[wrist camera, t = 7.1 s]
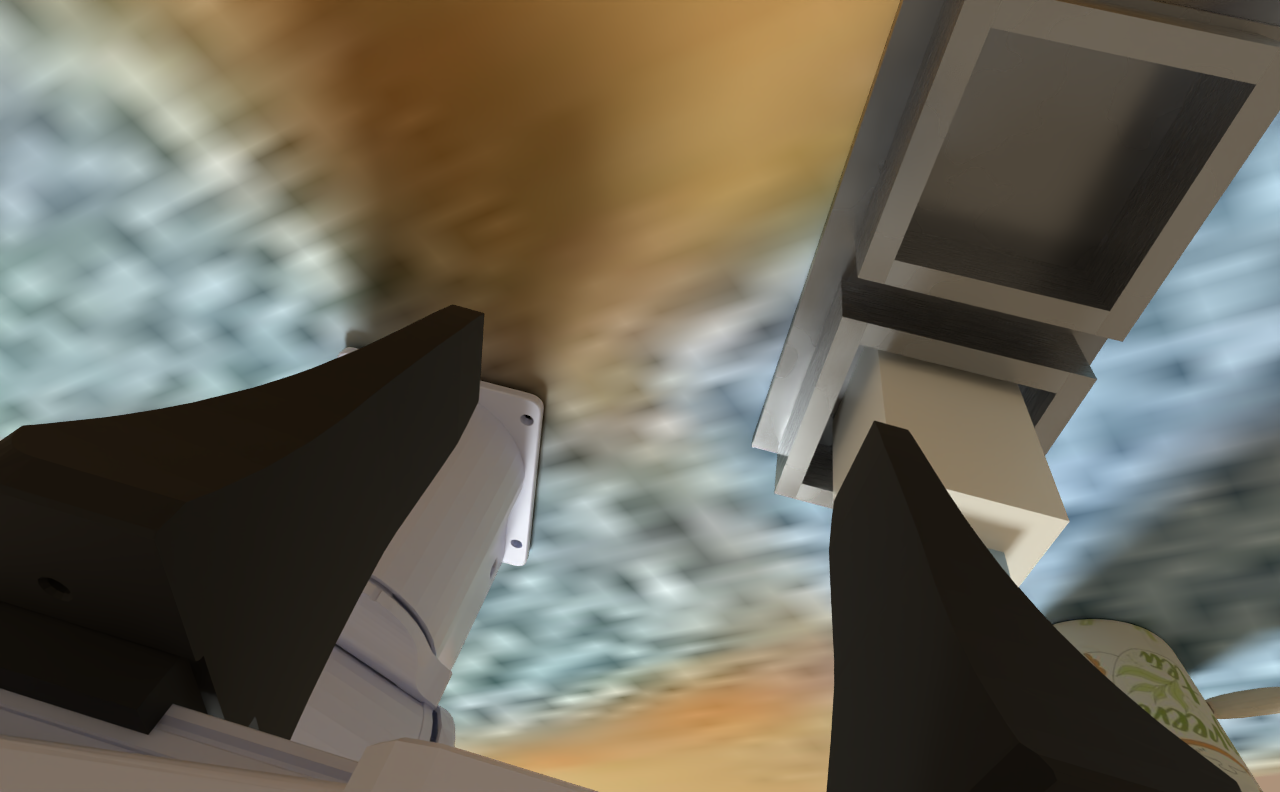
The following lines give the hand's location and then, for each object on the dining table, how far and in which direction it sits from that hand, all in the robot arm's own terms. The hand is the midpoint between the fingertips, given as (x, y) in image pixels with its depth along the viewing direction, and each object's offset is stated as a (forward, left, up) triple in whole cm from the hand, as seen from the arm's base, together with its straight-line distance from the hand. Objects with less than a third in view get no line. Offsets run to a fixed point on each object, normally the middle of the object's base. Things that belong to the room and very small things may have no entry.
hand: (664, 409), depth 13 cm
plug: (-4, -7, -10) cm, 13 cm away
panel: (-1, -7, -10) cm, 12 cm away
